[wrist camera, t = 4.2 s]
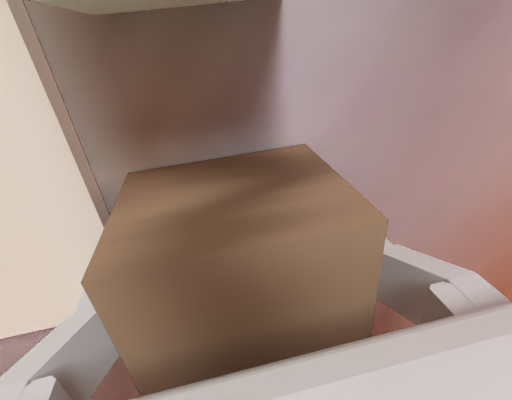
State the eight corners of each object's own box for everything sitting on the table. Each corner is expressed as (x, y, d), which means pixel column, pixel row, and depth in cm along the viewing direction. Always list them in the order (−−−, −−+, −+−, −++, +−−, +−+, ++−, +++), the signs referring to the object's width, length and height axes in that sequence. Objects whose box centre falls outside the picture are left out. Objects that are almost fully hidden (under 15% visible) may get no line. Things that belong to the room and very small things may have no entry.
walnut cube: (305, 144, 10) (387, 219, 6) (307, 271, 13) (364, 383, 9) (128, 173, 10) (80, 282, 5) (171, 301, 13) (163, 439, 8)
